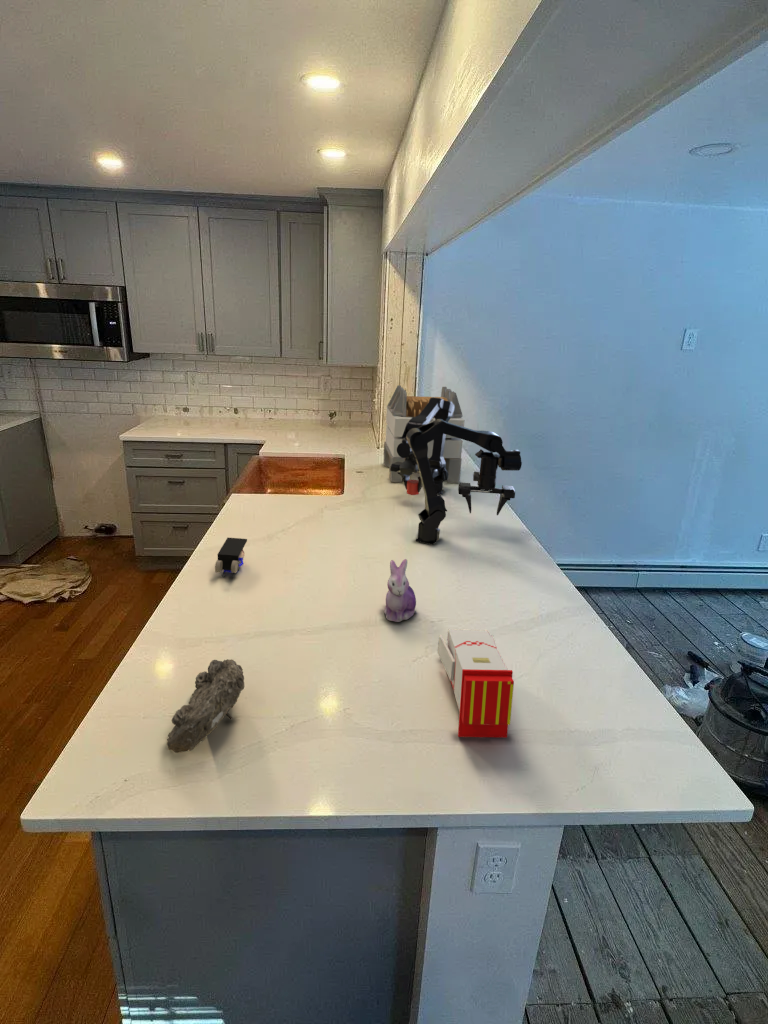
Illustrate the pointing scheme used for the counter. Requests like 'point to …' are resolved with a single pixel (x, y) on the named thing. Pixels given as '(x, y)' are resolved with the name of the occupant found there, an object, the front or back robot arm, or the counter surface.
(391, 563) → the figurine
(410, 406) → the transformer
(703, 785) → the counter surface
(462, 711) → the toy
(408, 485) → the canister
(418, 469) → the front robot arm
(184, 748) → the fossil
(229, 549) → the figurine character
